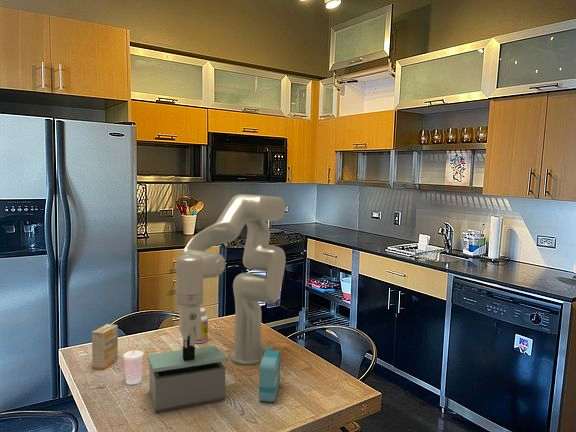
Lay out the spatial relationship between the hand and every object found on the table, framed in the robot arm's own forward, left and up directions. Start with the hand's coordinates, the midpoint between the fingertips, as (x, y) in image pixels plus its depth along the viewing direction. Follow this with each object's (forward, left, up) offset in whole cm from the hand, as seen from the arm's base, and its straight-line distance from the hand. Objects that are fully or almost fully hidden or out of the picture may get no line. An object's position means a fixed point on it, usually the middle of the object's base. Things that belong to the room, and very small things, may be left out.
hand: (188, 359), depth 126 cm
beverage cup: (+14, -19, -13) cm, 27 cm away
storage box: (0, -4, -13) cm, 14 cm away
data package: (-24, +4, -13) cm, 28 cm away
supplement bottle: (-13, -45, -13) cm, 48 cm away
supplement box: (+22, -35, -13) cm, 43 cm away
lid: (0, -4, -2) cm, 4 cm away
